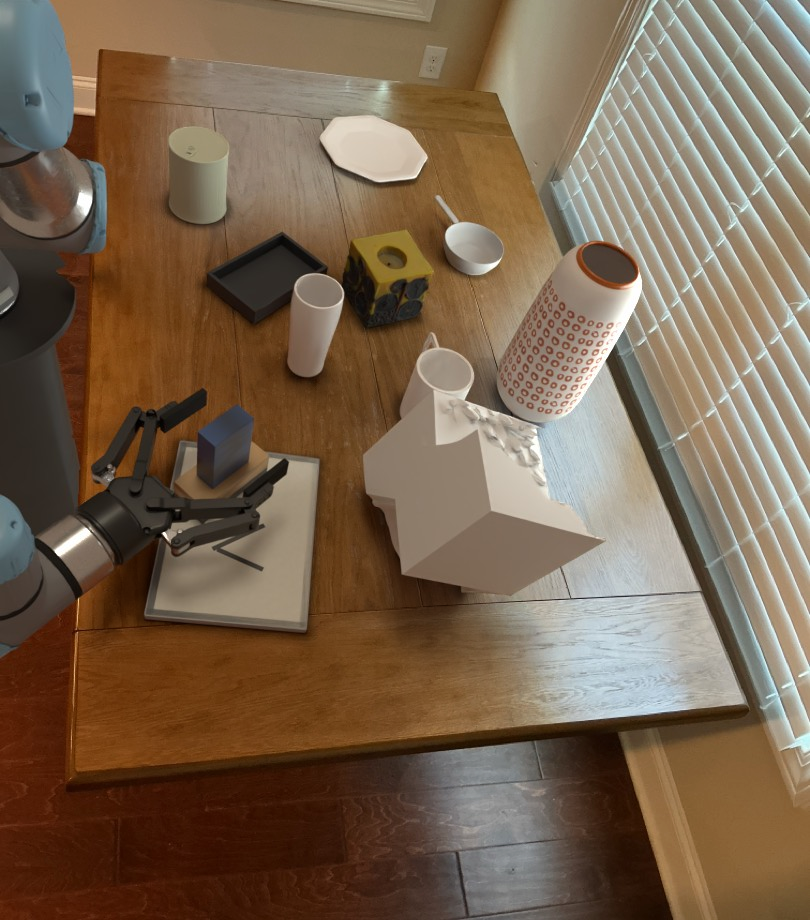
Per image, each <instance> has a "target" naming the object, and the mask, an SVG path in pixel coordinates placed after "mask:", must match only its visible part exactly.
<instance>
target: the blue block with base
mask: <svg viewBox="0 0 810 920" xmlns="http://www.w3.org/2000/svg"><path fill="white" fill-rule="evenodd" d="M254 422H255V418H254V417H253V416H252V415H251V414H250V413H248V412H247V411H246V410H245V409H244V408H242V407H241V406H240V405H239V404H238V403H236V404H235V405H233V406H232V407H230V408H229V409H228V410H226V411H224V412H223V413H222V414H220V415H218V416H217V417H216V418H215V419H213V420H211V421H210V422H209V423H208V424H206V425H205V426H203V427H202V428H200V429H199V430H198V431H197V433H196V434H197V435H196V439H197V440H196V442H197V465H196V466H194V467H193V468H191V469H190V470H189V471H187V472H186V473H185V474H183V475H182V476H180V477H179V478H178V479H176V480H175V481H174V493H175V497H176V498H181V497H186V498H188V499H215V498H236V497H237V496H239V495H240V494H241V493H242V492H243V490H244V489H246V488H247V487H248V486H249V485H251V484H252V483H253V482H255V481H256V480H257V479H258V478H260V477H261V476H262V475H263V474H265V473H266V472H267V468H268V462H269V455H268V454H266V453H265V452H266V451H265V452H264V450H263V449H262V448H261V447H259V446H258V445H257V444H256V443H255V442H254V441H253V440H252V439H253V438H252V437H253V430H254ZM207 520H208V519H201V520H198V521H199V522H201V523H202V524H203V523H205V522H206V521H207Z"/></svg>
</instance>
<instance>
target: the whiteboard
mask: <svg viewBox="0 0 810 920" xmlns="http://www.w3.org/2000/svg"><path fill="white" fill-rule="evenodd" d="M263 451H264V450H263ZM264 452H265V453H266V454H268V455H269V462H268V468H267V471H268V470H270V469H271V468H272V467H274V466H275V465H276V464H277V463H279V462H280V461H281V460H282V459H284V458H285V459H286V460H288V461H289V465H288V470H287V475H285V476H284V477H283V478H282V479H280V480H279V481H278V482H277V483H275V484H274V485H273V486H274V489H273V494H272V496H271V497H270V498H269V499H267V500H266V501H265V502H264V503H263V504H261V505H260V506H259V507H258V508H257V509H256V511H257V512H259V514H260V521H259V527H258V529H257V530H255V531H252V532H248V533H245V534H241V535H237V536H234V537H230V538H226V539H223V540H219V541H215V542H212V543H208V544H204V545H201V546H197V547H193V548H192V549H190V550H189V551H187V552H186V553H184V554H183V555H181V556H179V557H174V556H173V555H172V554H171V548H170V547H169V546H168V544H167V543H166V542H165V541H164V540H163V538H159V539H158V545H157V549H156V554H155V559H154V563H153V569H152V574H151V579H150V583H149V588H148V593H147V597H146V603H145V606H144V607H145V608H144V612H143V618H144V619H145V620H152V621H163V622H174V623H185V624H198V625H208V626H220V627H221V626H222V627H230V628H231V627H234V628H244V629H256V630H268V631H277V632H289V633H301V634H302V633H303V634H305V633H306V632H307V630H308V623H309V622H308V621H309V609H310V608H309V607H310V594H311V593H310V592H311V581H312V569H313V567H312V566H313V555H314V553H313V552H314V542H315V541H314V540H315V529H316V527H315V525H316V513H317V502H318V501H317V499H318V488H319V475H320V460H321V459H320V458H317V457H310V456H303V455H294V454H288V453H287V454H286V453H279V452H272V451H266V450H265V451H264ZM196 465H197V441H190V440H181V439H180V441H179V443H178V448H177V452H176V458H175V462H174V467H173V472H172V477H171V482H170V487H169V488H170V489H171V490H172V491H173V492H174V481H175V480H176V479H178V478H179V477H180V476H182V475H183V474H185V473H186V472H187V471H189V470H190V469H191V468H193V467H194V466H196ZM240 497H243V492H242V493H241V494H240V495H239V496H237V497H236V498H240ZM176 511H180V510H176ZM222 519H224V518H222ZM217 520H221V519H208V520H207V521H206V522H205V523H209V522H213V521H217ZM205 523H203V524H205ZM201 524H202V523H201V522H199V521H198V520H189V521H188V522H184V523H172V526H171V530H173V531H176V530H178V529H182V530H186V529H188V528H191V527H194V526H197V525H201Z"/></svg>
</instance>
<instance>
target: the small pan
mask: <svg viewBox="0 0 810 920" xmlns="http://www.w3.org/2000/svg"><path fill="white" fill-rule="evenodd" d="M433 199H434V200H435V202H436V203H437V204H438V206H439V207H440V208H441V210H442V211H443V212H444V214H445V215H446V216H447V218H448V219H449V220H450V222H451V225H450V226H449V227H448V228H447V229H446V231H445V233H444V237H443V244H442V245H443V250H444V254H445V257H446V260H447V261H448V263H449V265H451V266H452V267H453V268H454V269H456V270H457V271H458V272H461V273H463V274H466V275H469V276H481V275H484V274H486V273H488V272H490V271H492V270H493V269H495V267H497V266H498V264H499V263H500V262H501V260H502V258H503V256H504V254H505V247H504V243H503V242H502V240H501V238H500V237H499V236H498V235H497V234H496V233H495V232H494V231H492V230H491V229H489V228H488V227H486V226H484V225H481V224H478V223H475V222H470V221H459V219H458V218H457V217H456V215H455V214H454V213H453V211H452V210H451V209H450V207H449V206H448V205H447V203H446V202H445V200H444V199H443V198H442V197H441V196H440V195H435V196H434V197H433Z"/></svg>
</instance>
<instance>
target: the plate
mask: <svg viewBox="0 0 810 920" xmlns="http://www.w3.org/2000/svg"><path fill="white" fill-rule="evenodd" d="M318 139H319V142H320V144H321V145H322V147H323V148H324V150H325V151H326V153H327V155H328V156H329V159H331V161H332V163H333V165H334V166H336V167H337V168H339V169H340V170H343V171H346V172H348V173H351V174H352V175H355V176H358V177H360V178H362V179H365V180H367V181H369V182H372V183H375V184H384V183H385V184H386V183H394V182H403V181H404V182H405V181H412V180H415V179H417V178H418V175H419V174H420V172H421V170H422V168H423V167H424V165H425V163H426V162H427V160H428V154H427V153H426V151H425V150H424V149H423V147H422V146H421V145H420V143H419V142H418V140H417V139H416V138H415V137H414V135H413V134H412V132H411V131H410V130H408V129H407V128H404V127H402V126H400V125H397V124H395V123H392V122H389V121H387V120H385V119H383V118H380V117H377V116H375V115H372V114H367V115H366V114H365V115H349V116H336V117H334V118H332V120H331V121H330V122H329V123H328V124H327V126H326V128H325V129H324V130H323V131H322V133H321V134H320V135H319V137H318Z"/></svg>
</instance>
